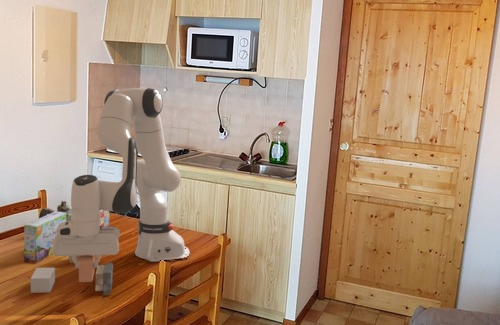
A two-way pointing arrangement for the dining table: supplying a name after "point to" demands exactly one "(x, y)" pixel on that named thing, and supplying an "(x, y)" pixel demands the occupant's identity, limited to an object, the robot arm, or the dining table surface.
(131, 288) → the dining table surface
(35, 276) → the gray block
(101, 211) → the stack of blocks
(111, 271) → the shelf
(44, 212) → the teapot
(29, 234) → the snack box
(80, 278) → the pink rectangular block
